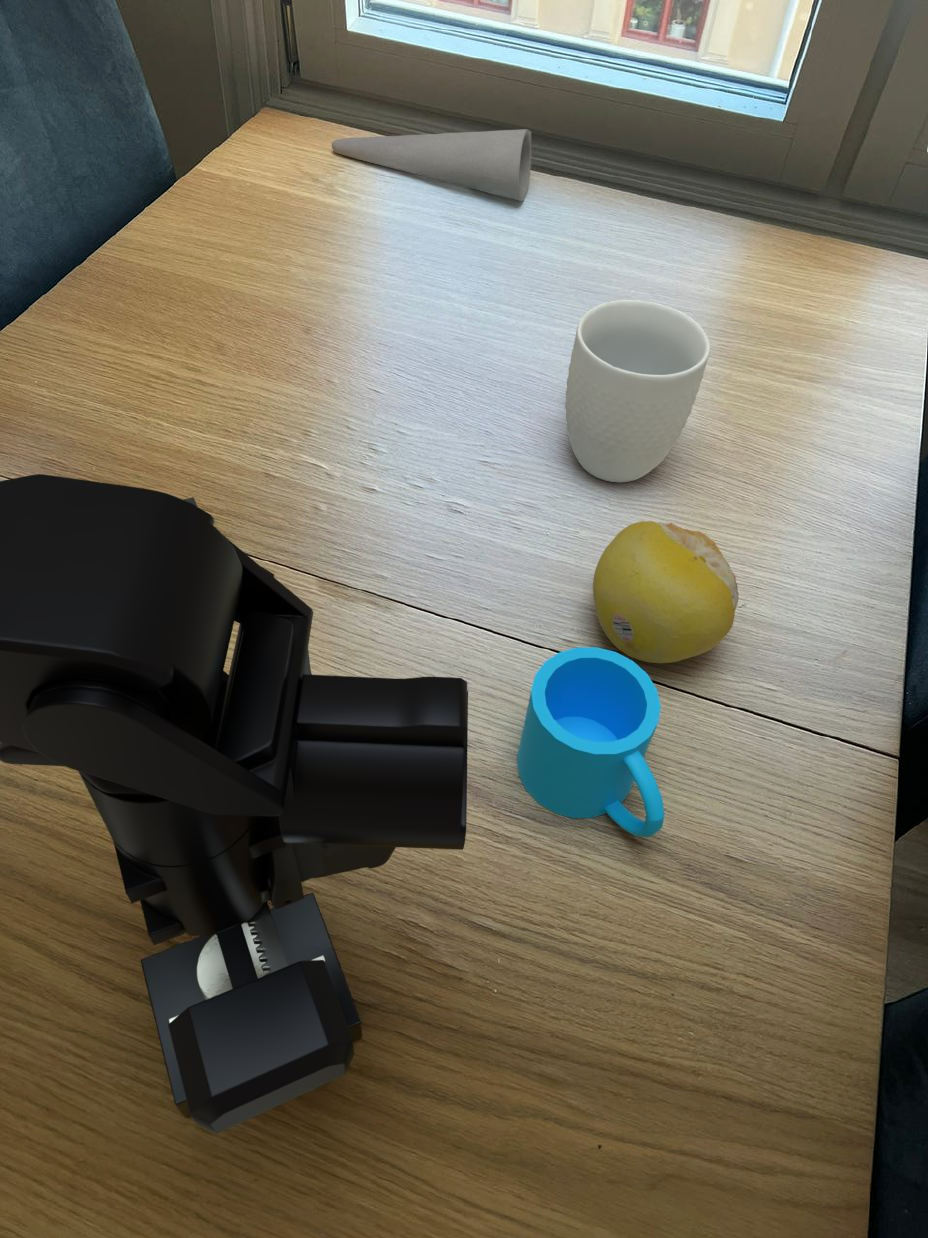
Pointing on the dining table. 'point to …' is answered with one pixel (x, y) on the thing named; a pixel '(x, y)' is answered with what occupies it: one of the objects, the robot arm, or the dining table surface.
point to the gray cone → (453, 158)
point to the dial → (221, 965)
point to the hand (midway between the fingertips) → (238, 948)
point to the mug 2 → (591, 738)
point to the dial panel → (179, 989)
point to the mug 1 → (632, 386)
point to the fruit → (664, 592)
